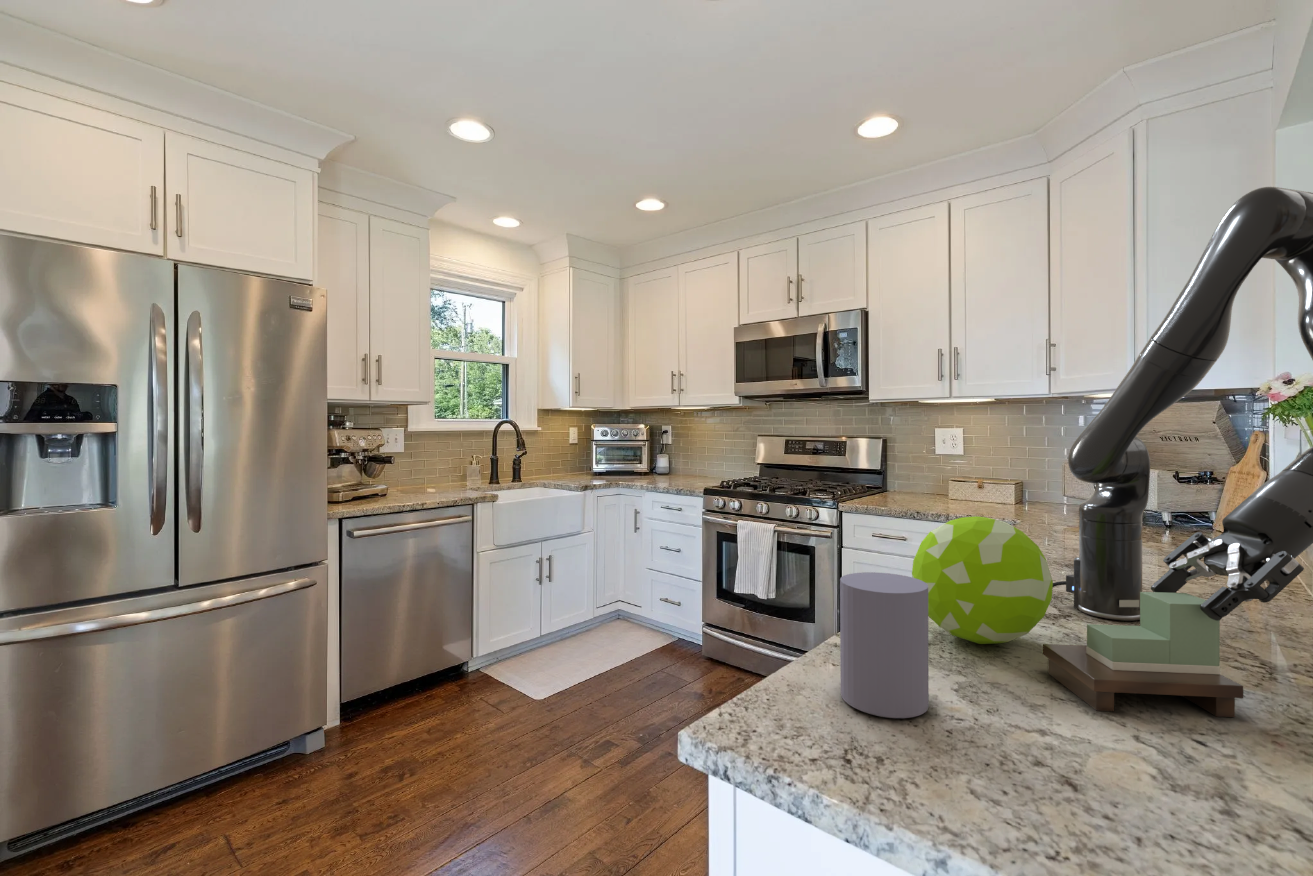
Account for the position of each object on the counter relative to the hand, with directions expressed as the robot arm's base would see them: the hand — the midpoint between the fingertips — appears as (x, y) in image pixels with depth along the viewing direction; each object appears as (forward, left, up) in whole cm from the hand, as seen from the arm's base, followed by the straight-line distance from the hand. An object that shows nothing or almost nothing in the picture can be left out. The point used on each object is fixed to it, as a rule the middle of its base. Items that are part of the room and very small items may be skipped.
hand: (1181, 604), depth 75 cm
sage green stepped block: (-2, -3, -8) cm, 8 cm away
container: (-11, -37, -12) cm, 40 cm away
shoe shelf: (-2, -5, -12) cm, 13 cm away
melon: (-25, -6, -12) cm, 28 cm away
